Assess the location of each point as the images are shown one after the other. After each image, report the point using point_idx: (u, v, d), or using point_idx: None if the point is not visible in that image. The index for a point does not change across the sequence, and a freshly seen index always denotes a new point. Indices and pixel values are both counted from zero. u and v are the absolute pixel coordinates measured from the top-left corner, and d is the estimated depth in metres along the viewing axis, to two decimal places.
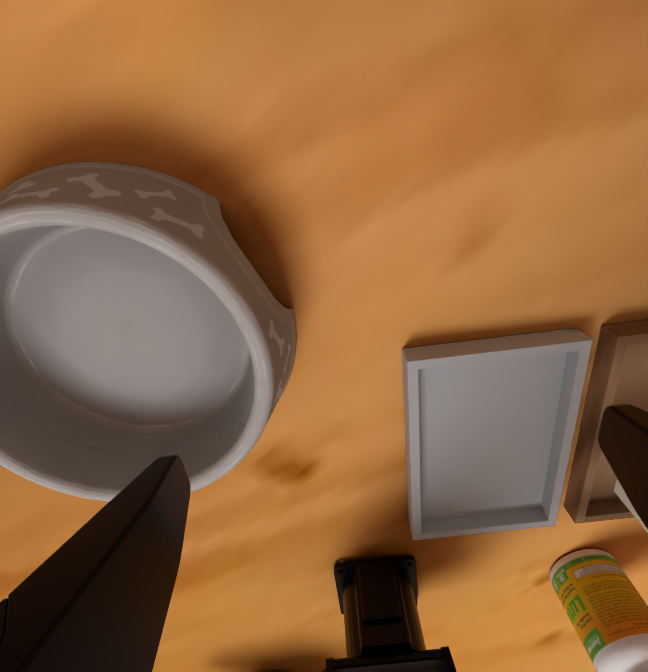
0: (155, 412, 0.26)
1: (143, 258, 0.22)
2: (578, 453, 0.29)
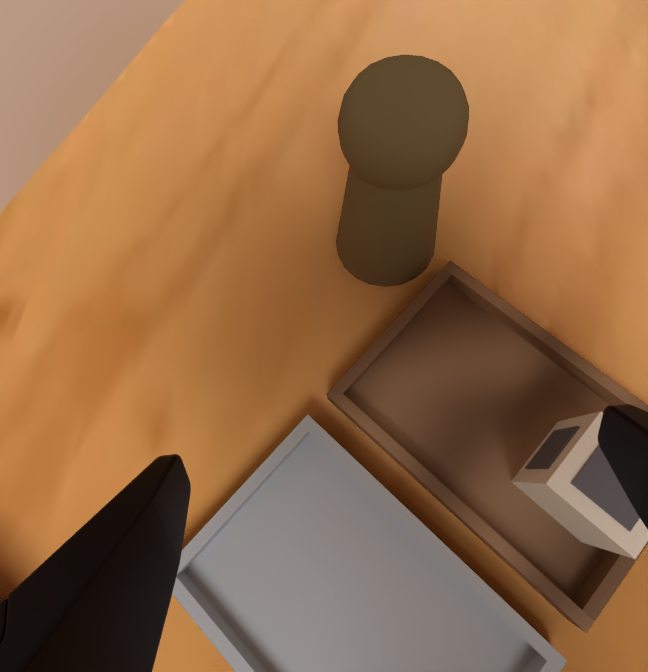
0: None
1: None
2: (472, 530, 0.21)
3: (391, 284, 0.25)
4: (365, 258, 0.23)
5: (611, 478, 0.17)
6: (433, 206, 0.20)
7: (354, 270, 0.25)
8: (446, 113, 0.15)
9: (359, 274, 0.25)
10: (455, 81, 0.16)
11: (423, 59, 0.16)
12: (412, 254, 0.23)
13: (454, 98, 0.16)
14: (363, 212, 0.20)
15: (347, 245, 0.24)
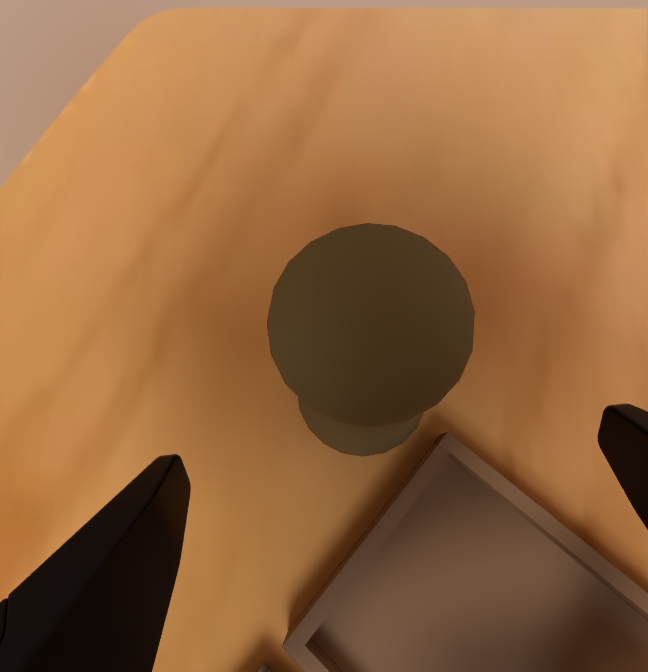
0: None
1: None
2: None
3: (370, 454, 0.19)
4: (332, 437, 0.17)
5: None
6: None
7: (320, 438, 0.19)
8: (439, 344, 0.09)
9: (327, 443, 0.19)
10: (451, 278, 0.10)
11: (398, 237, 0.10)
12: (396, 435, 0.16)
13: (451, 313, 0.09)
14: None
15: (307, 416, 0.17)
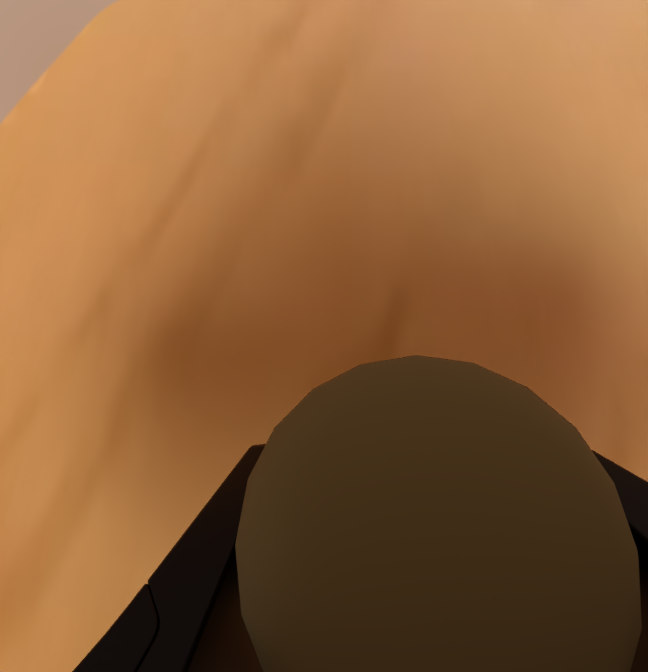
0: None
1: None
2: None
3: None
4: None
5: None
6: None
7: None
8: None
9: None
10: (605, 504, 0.05)
11: (489, 410, 0.05)
12: None
13: (614, 594, 0.04)
14: None
15: None
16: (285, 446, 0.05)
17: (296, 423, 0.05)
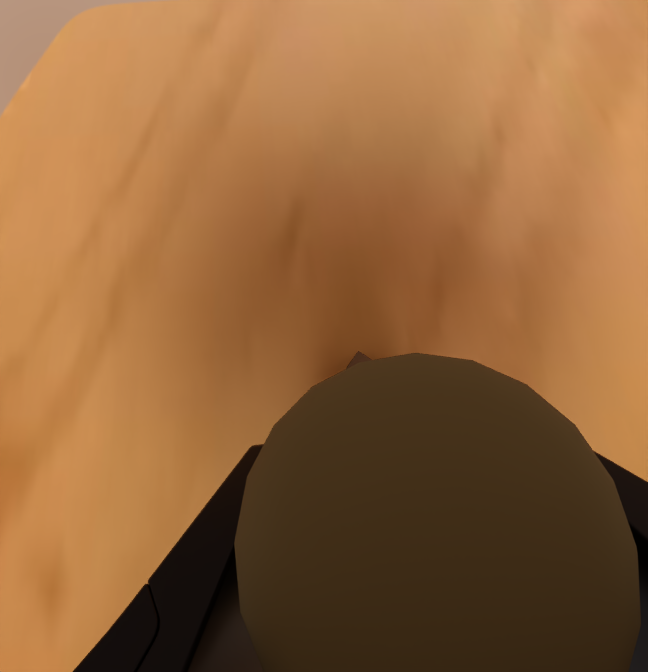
0: None
1: None
2: None
3: None
4: None
5: None
6: None
7: None
8: (595, 670, 0.04)
9: None
10: (604, 501, 0.05)
11: (489, 406, 0.05)
12: None
13: (614, 591, 0.04)
14: None
15: None
16: (284, 443, 0.05)
17: (295, 421, 0.05)
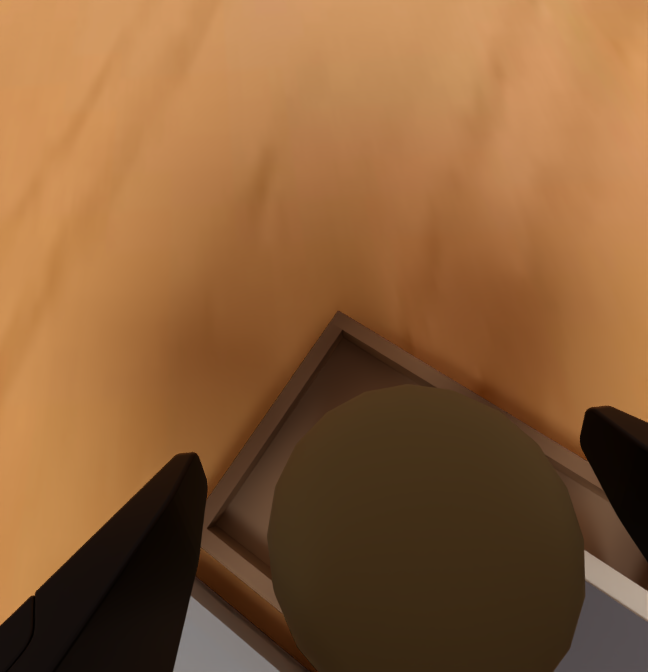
0: None
1: None
2: None
3: None
4: None
5: (586, 644, 0.11)
6: None
7: None
8: (546, 632, 0.06)
9: None
10: (556, 505, 0.06)
11: (468, 432, 0.06)
12: None
13: (561, 573, 0.06)
14: None
15: None
16: (308, 461, 0.07)
17: (316, 443, 0.07)
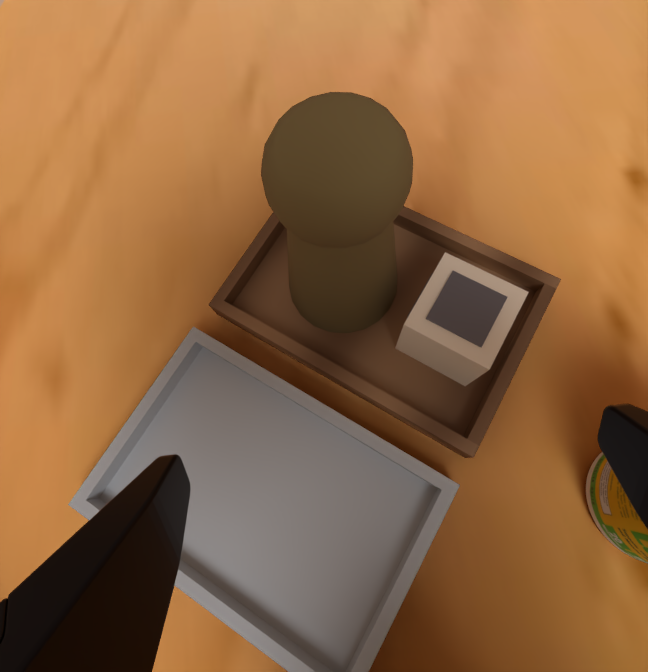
0: None
1: None
2: (366, 399, 0.22)
3: (353, 330, 0.23)
4: (319, 309, 0.21)
5: (460, 306, 0.18)
6: (386, 252, 0.18)
7: (310, 319, 0.23)
8: (384, 163, 0.13)
9: (316, 323, 0.22)
10: (392, 121, 0.13)
11: (352, 97, 0.14)
12: (371, 301, 0.20)
13: (392, 143, 0.13)
14: (307, 267, 0.18)
15: (298, 294, 0.21)
16: (278, 121, 0.14)
17: None
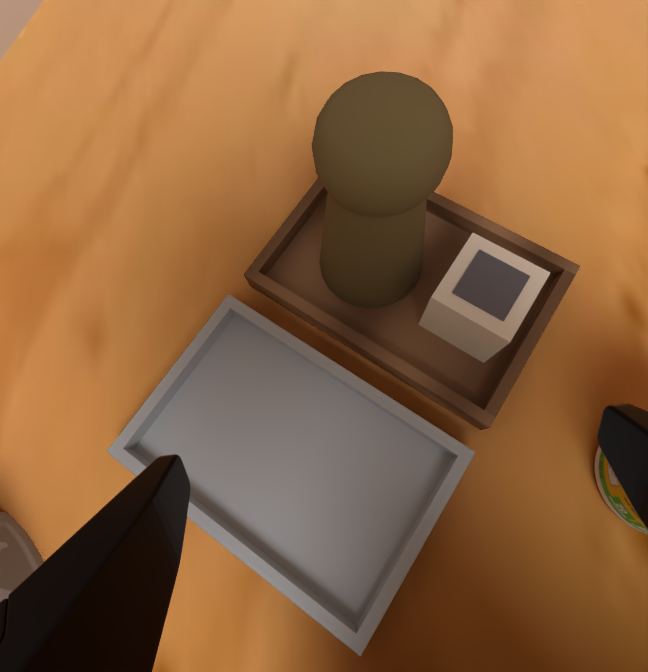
0: None
1: None
2: (388, 370, 0.23)
3: (379, 306, 0.24)
4: (349, 281, 0.22)
5: (485, 282, 0.20)
6: (419, 228, 0.19)
7: (339, 293, 0.24)
8: (428, 136, 0.14)
9: (344, 297, 0.24)
10: (437, 100, 0.15)
11: (401, 77, 0.15)
12: (399, 276, 0.21)
13: (436, 119, 0.14)
14: (344, 237, 0.19)
15: (330, 268, 0.22)
16: (331, 96, 0.15)
17: (335, 92, 0.15)
